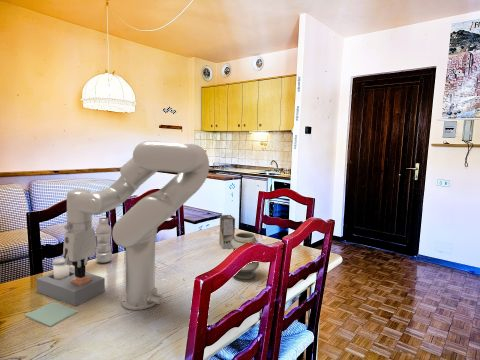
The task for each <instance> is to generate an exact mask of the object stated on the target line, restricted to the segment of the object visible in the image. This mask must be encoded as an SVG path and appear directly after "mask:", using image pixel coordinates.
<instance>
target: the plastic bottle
mask: <svg viewBox="0 0 480 360" xmlns="http://www.w3.org/2000/svg"><path fill="white" fill-rule="evenodd" d="M108 223H109V217H99V219H98V225H97V226H96V228H95V235H96V243H97V252H96V254H95V255H96V256H95V258H96V261H97V262H98V263H99V264H100V263H101V264H104V263H105V264H106V263H109V262H111V260H112V259H113V252H112V247H111V236H112V227H111V225H109V224H108Z"/></svg>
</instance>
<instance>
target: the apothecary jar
mask: <svg viewBox="0 0 480 360" xmlns="http://www.w3.org/2000/svg"><path fill="white" fill-rule="evenodd" d="M248 242H259V241H258V239H256V234H254V233H253V232H248V231H243V232H242V231H240V232H237V233H235V234H234V239H233V240H232V241H231V247H232V248H231V249H233V251H234V250H235V249H237V248H238V247H240V246H242V245H243V244H245V243H248ZM259 266H260V262H252V263H249V264H247V265H246V266H245V267H244V268H242V269H241V270H240V271H239V272H238V273H237V274H236V275H235V276H234V277H233V279H234V280H236V281H238V282H239V281H240V282H250V281H253V280H255V279H256V277H257V276H256V273H254V271H256V270H257V269H258V268H259Z"/></svg>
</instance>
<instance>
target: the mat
mask: <svg viewBox="0 0 480 360" xmlns="http://www.w3.org/2000/svg"><path fill="white" fill-rule="evenodd" d="M78 313H79V312H78V310H76V309H74V308H71V307H69V306H65V305H62V304H60V303H57V302H55V301H52V302H50V303H47V304H46V305H43V306H41V307H38V308H36V309H35V310H31V312H27V313H26V314H24V316H25V317H26V318H29V320H30V319H31V320H33V321H35V322H37V323H39V324H42V325H45V327H46V326H47V327H48V328H52V327H54V326H55V325H57V324H59V323H61V322H63V321H65V320H66V319H68V318H71V316H73V315H75V314H78Z"/></svg>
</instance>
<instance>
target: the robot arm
mask: <svg viewBox="0 0 480 360" xmlns="http://www.w3.org/2000/svg"><path fill="white" fill-rule="evenodd" d="M209 171H210V161H209V156H208V154H207V152H206V150H205V149H204V148H203V147H202V146H200V145H198V144H193V143H171V142H161V141H157V140H147V141H142V142H140V143H138V144H137V145H136V146H135V147H134V150H133V153H132V157H131V158H130V159H129V160H128V161H126V163H124V164H123V165H122V166H121V167H120V168H119V173H120V177H118V179H117V180H115V181H114V183H112V184H111V185H109V187H107V188H104V189H101V190H98V191H94V192H92V191H91V190H88V189H71V190H69V191H68V192H67V194H66V224H65V225H64V230H65V233H64V238H63V239H64V240H63V249H62V250H63V252H62V254H63V256H62V257H64V259H65V263H64V264H65V265H69V266H73V267H74V269H75V276H76V277H79V278H82V277H85V272H86V266H87V265H88V261H89V260H90V259H91V258H93V257H94V256H95V255H96V254H97V236H96V229H95V228H94V227H93V225H92V224H93V222H92V218H93V216H98V215H99V216H100V215H102V214H105V213H106V212H108V211H112V210H114V209H116V208H118V207H119V206H120V205H122V204H123V203H124V202H125V201H127V200H128V199H129V198H130V197H131V196H133V194H134V193H135V192H137V190H138V189H139V188H140V186H141V185H143V184H144V183H145V182H146V181H148V180H149V179H150V178H152V176H154V175H155V174H156V173H158V172H167V173H169V172H170V173H177V174H176V175H175V176H174V177H172V178H171V179H170V180H169V181H168V182H167V183H166V184H165V185H164V186H162V187H161V188H160V189H159V190H158V191H155V192H152V193H150V194H148V195H146V196H144V197H142V198H141V199H140V200H138V201H137V202H136V204H134V205H133V206H132V207H131V208H129V210H128V211H127V212H126V213H125V214H123V215H122V216H121V217H120V218H119V219H118V220H117V221H116V222H115V223H114V226H113V227H112V230H111V236H112V240H113V242H114V243H115V244H116V245H117V246H119V247H121V248H124V249H125V294H124V295H123V296H122V297H121V300H120V305H121V306H122V307H123V308H124V309H127V310H131V311H140V310H146V309H149V308H151V307H154V306H155V305H160V304H161V302H162V299H163V297H164V296H163V294H160V293H159V292H158V287H156V284H155V283H156V279H155V278H156V277H155V276H156V241H157V240H156V239H157V233H158V228H159V227H160V226H161V225H162V224H163V223H164V222H165V221H167V220H170V218H171V217H173V215H174V214H175V213H176V212H177V210H179V208H181V207H182V206H183V205H184V204H185V203H186V202H188V200H189V199H191V197H192V196H194V195H195V194H196V193H197V192H198V191H199V190H200V189H201V188H202V186H203V185H204V184H205V182H206V180H207V177H208V174H209Z"/></svg>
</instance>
